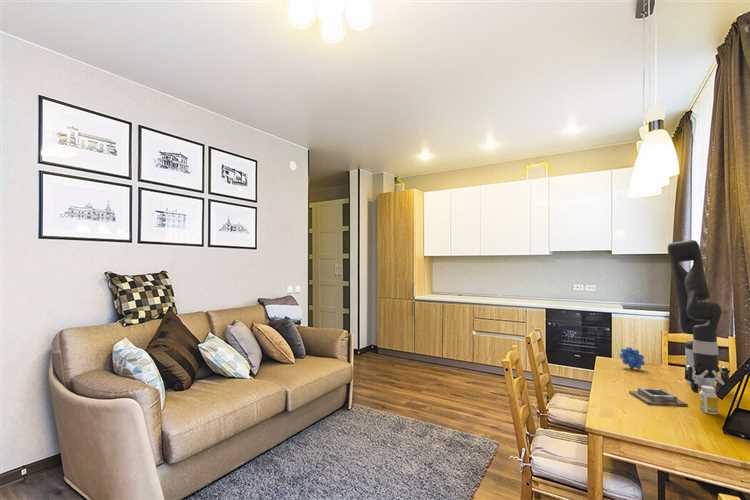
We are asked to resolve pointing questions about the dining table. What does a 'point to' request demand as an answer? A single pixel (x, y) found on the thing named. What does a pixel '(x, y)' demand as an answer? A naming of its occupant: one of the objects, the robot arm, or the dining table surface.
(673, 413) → the dining table surface
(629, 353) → the grapes
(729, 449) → the dining table surface
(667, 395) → the socket holder
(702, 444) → the dining table surface
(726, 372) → the robot arm
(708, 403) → the supplement bottle
